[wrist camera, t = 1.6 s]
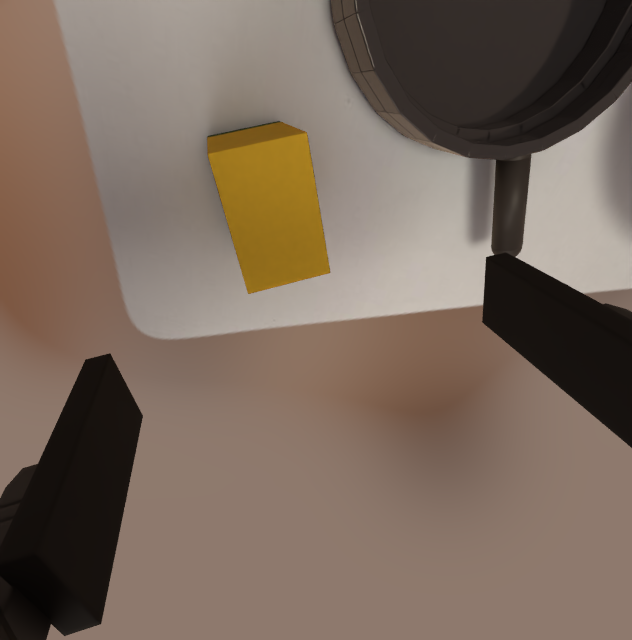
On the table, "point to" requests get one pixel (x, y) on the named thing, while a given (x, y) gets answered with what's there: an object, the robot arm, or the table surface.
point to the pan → (487, 68)
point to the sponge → (270, 203)
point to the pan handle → (510, 204)
